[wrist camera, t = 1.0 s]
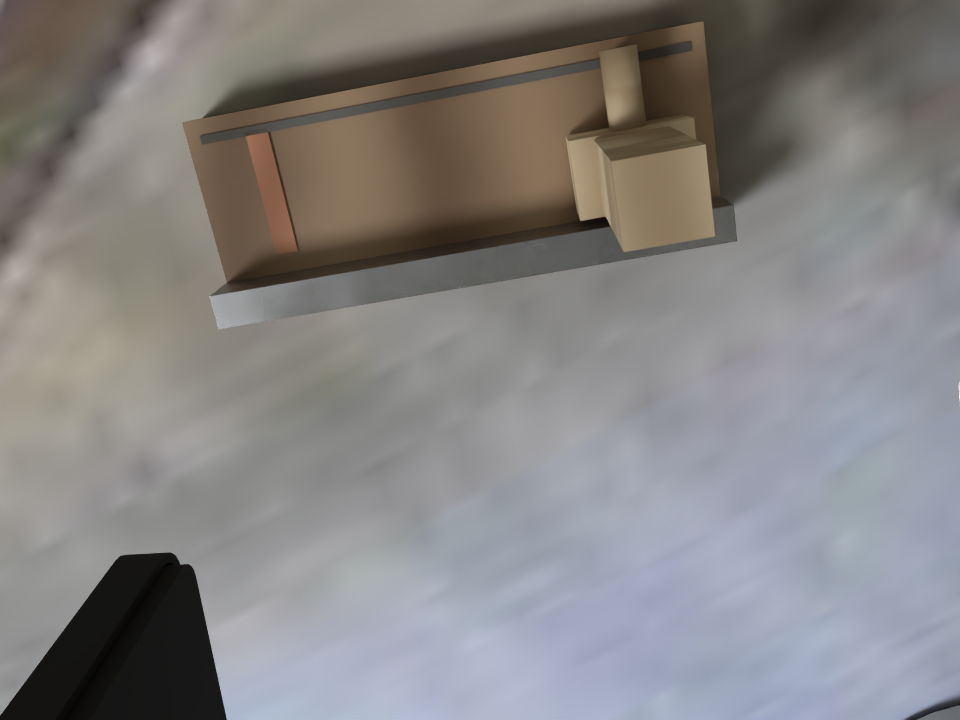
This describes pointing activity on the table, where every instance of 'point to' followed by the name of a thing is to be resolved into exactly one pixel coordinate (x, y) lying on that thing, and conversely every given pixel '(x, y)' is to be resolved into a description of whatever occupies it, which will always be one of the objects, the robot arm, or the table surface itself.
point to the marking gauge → (640, 166)
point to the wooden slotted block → (429, 179)
